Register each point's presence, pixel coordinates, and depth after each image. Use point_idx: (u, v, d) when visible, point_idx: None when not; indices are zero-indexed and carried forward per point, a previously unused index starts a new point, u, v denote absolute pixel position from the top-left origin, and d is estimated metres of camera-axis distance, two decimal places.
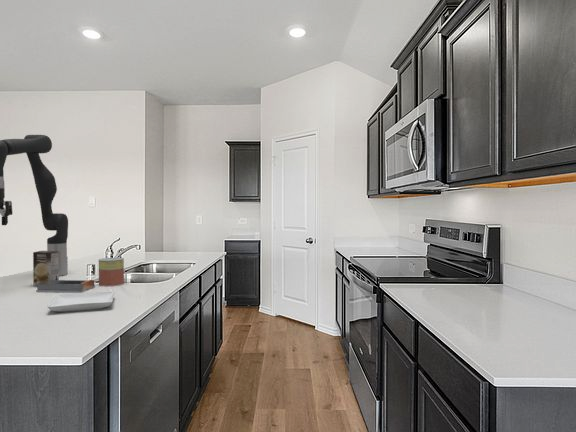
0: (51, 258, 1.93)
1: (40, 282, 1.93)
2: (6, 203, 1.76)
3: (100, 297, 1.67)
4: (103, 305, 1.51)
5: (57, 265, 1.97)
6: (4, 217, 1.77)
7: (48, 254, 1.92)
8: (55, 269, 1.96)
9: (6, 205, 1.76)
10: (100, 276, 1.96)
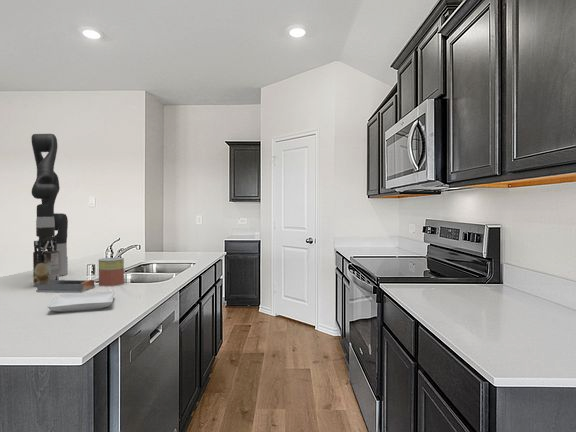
0: (51, 258, 1.93)
1: (40, 282, 1.93)
2: (56, 240, 2.02)
3: (100, 297, 1.67)
4: (103, 305, 1.51)
5: (57, 265, 1.97)
6: None
7: (48, 254, 1.92)
8: (55, 269, 1.96)
9: (55, 242, 2.02)
10: (100, 276, 1.96)
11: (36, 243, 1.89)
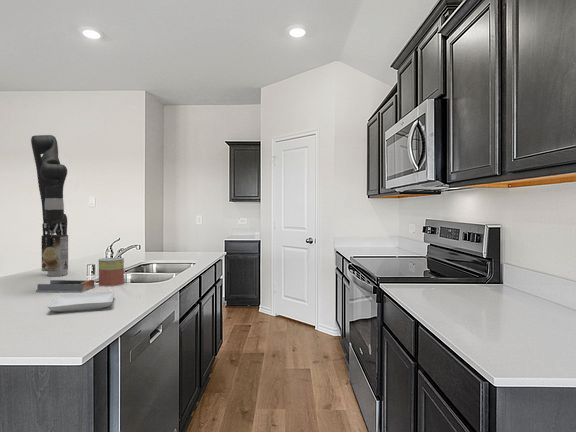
0: (60, 241, 1.83)
1: (49, 267, 1.84)
2: (65, 224, 1.92)
3: (100, 297, 1.67)
4: (103, 305, 1.51)
5: (66, 249, 1.88)
6: None
7: (57, 237, 1.83)
8: (65, 253, 1.87)
9: (65, 226, 1.92)
10: (100, 276, 1.96)
11: (45, 226, 1.79)
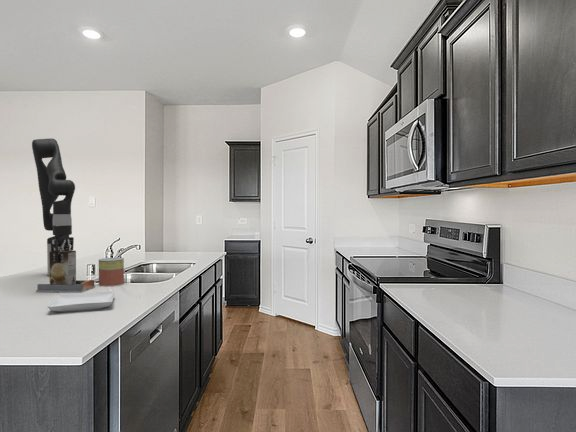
0: (68, 257, 1.83)
1: (57, 283, 1.84)
2: (73, 239, 1.92)
3: (100, 297, 1.67)
4: (103, 305, 1.51)
5: (74, 265, 1.88)
6: None
7: (65, 254, 1.83)
8: (72, 269, 1.86)
9: (72, 241, 1.92)
10: (100, 276, 1.96)
11: (53, 242, 1.79)
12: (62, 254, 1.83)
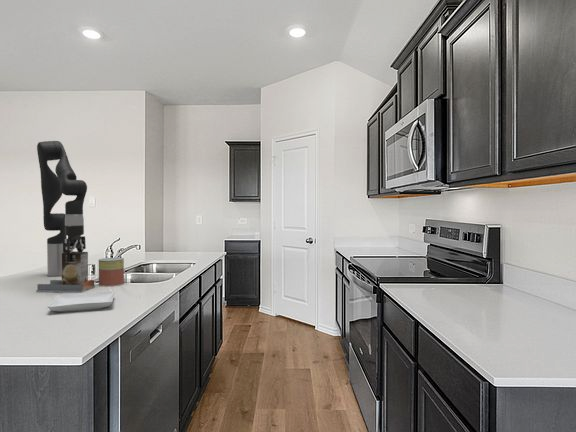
0: (81, 259, 1.83)
1: None
2: (84, 238, 1.92)
3: (100, 297, 1.67)
4: (103, 305, 1.51)
5: (86, 266, 1.88)
6: (82, 251, 1.91)
7: (78, 255, 1.83)
8: (85, 271, 1.87)
9: (84, 240, 1.92)
10: (100, 276, 1.96)
11: (65, 241, 1.79)
12: (74, 255, 1.83)
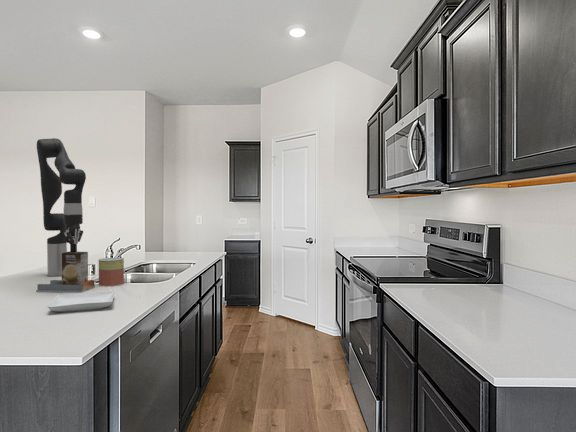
0: (81, 259, 1.83)
1: None
2: (82, 232, 1.91)
3: (100, 297, 1.67)
4: (103, 305, 1.51)
5: (86, 266, 1.88)
6: None
7: (78, 255, 1.83)
8: (85, 271, 1.87)
9: (81, 234, 1.91)
10: (100, 276, 1.96)
11: (66, 235, 1.80)
12: (74, 255, 1.83)
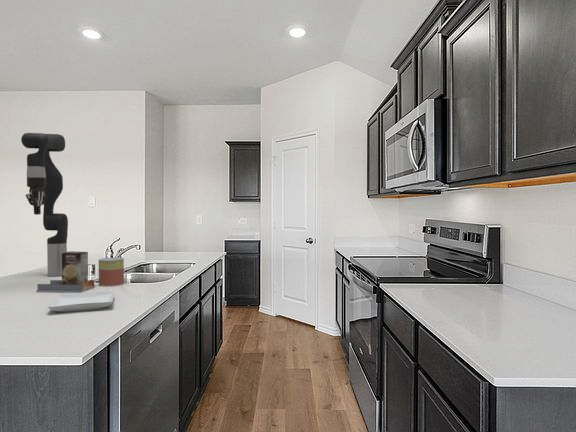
0: (81, 259, 1.83)
1: None
2: (46, 196, 1.97)
3: (100, 297, 1.67)
4: (103, 305, 1.51)
5: (86, 266, 1.88)
6: (40, 207, 1.93)
7: (78, 255, 1.83)
8: (85, 271, 1.87)
9: (45, 197, 1.96)
10: (100, 276, 1.96)
11: (29, 197, 1.86)
12: (74, 255, 1.83)
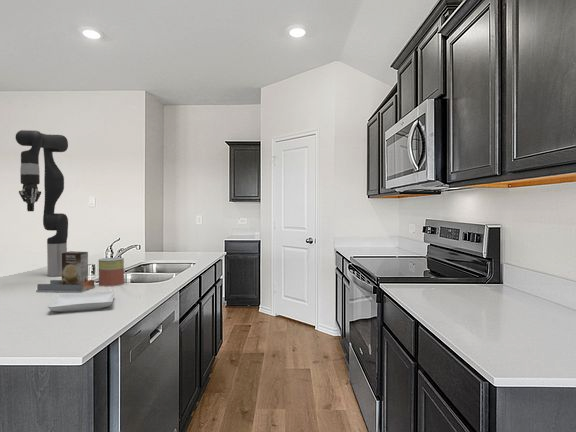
0: (81, 259, 1.83)
1: None
2: (40, 193, 1.97)
3: (100, 297, 1.67)
4: (104, 305, 1.51)
5: (86, 266, 1.88)
6: (33, 204, 1.93)
7: (78, 255, 1.83)
8: (85, 271, 1.87)
9: (39, 194, 1.97)
10: (100, 276, 1.96)
11: (22, 193, 1.86)
12: (74, 255, 1.83)
